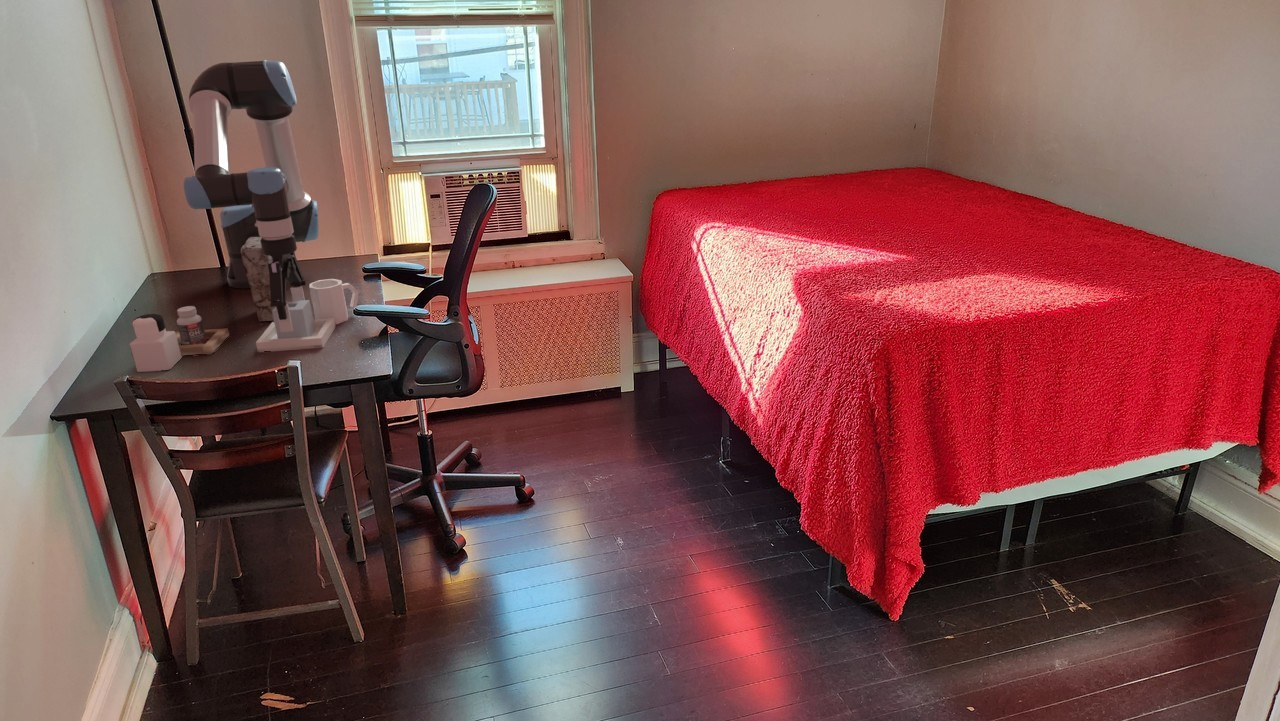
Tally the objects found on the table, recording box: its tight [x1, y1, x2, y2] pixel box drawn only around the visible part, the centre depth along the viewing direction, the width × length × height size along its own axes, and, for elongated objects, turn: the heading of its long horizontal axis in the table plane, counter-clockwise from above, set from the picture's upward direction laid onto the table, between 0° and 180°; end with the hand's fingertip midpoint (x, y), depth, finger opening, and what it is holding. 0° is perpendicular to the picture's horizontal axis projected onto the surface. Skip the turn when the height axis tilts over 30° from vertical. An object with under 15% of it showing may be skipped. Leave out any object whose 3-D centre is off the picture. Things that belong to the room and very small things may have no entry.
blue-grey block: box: [272, 299, 315, 339], centre depth 203 cm, size 7×7×8 cm
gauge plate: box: [175, 328, 230, 355], centre depth 202 cm, size 12×12×2 cm
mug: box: [308, 278, 360, 325], centre depth 217 cm, size 12×9×10 cm
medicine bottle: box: [129, 313, 183, 373], centre depth 190 cm, size 7×7×12 cm
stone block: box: [241, 237, 280, 322], centre depth 219 cm, size 13×7×20 cm, turn 21°
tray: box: [255, 318, 336, 353], centre depth 205 cm, size 14×15×2 cm
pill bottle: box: [176, 305, 208, 345], centre depth 201 cm, size 5×5×10 cm
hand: (294, 321), depth 203 cm, fingers open, 13 cm apart
